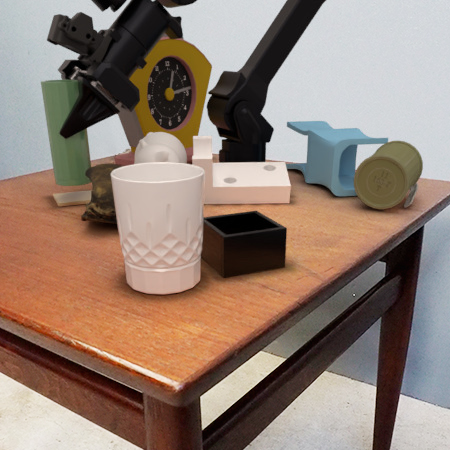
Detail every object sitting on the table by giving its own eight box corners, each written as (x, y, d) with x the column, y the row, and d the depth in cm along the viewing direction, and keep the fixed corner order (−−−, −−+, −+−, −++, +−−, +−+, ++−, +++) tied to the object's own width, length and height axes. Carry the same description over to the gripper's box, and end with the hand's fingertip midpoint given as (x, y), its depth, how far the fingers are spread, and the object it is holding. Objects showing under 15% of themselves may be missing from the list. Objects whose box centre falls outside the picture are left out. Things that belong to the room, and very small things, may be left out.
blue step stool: (330, 197, 76) (284, 168, 94) (381, 194, 78) (326, 166, 95) (335, 139, 73) (286, 121, 90) (388, 137, 74) (330, 120, 92)
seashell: (90, 198, 75) (97, 147, 72) (154, 211, 76) (164, 162, 73) (64, 234, 60) (71, 172, 57) (145, 250, 61) (155, 190, 58)
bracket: (194, 210, 74) (192, 159, 69) (195, 185, 79) (193, 135, 75) (288, 209, 74) (293, 157, 69) (283, 184, 80) (287, 135, 75)
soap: (137, 158, 102) (136, 153, 102) (114, 157, 103) (113, 152, 103) (151, 150, 111) (151, 146, 111) (130, 149, 112) (129, 145, 112)
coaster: (91, 193, 79) (91, 190, 79) (99, 202, 75) (98, 198, 74) (53, 197, 77) (52, 193, 77) (58, 206, 73) (57, 203, 72)
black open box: (255, 246, 58) (256, 210, 56) (285, 267, 53) (287, 227, 51) (199, 255, 56) (198, 217, 54) (223, 278, 50) (223, 237, 49)
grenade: (379, 228, 71) (405, 195, 82) (426, 199, 66) (447, 169, 78) (342, 175, 70) (373, 149, 81) (388, 143, 65) (414, 120, 77)
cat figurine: (161, 128, 72) (166, 114, 83) (98, 172, 74) (111, 153, 85) (198, 183, 76) (198, 162, 86) (137, 222, 78) (145, 198, 89)
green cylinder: (99, 182, 75) (87, 80, 69) (65, 188, 72) (50, 82, 66) (82, 176, 78) (70, 79, 72) (49, 181, 75) (34, 80, 70)
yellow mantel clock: (138, 175, 89) (127, 29, 80) (102, 168, 94) (88, 30, 85) (222, 155, 105) (221, 31, 95) (187, 150, 110) (183, 31, 101)
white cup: (124, 265, 53) (115, 162, 49) (204, 263, 54) (202, 161, 49) (116, 300, 46) (105, 183, 42) (209, 296, 47) (207, 180, 42)
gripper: (63, -6, 74) (-7, 85, 74) (104, -18, 59) (16, 94, 59) (124, 56, 81) (60, 139, 81) (174, 59, 66) (95, 160, 66)
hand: (57, 133), depth 71 cm, fingers closed on green cylinder, 5 cm apart
